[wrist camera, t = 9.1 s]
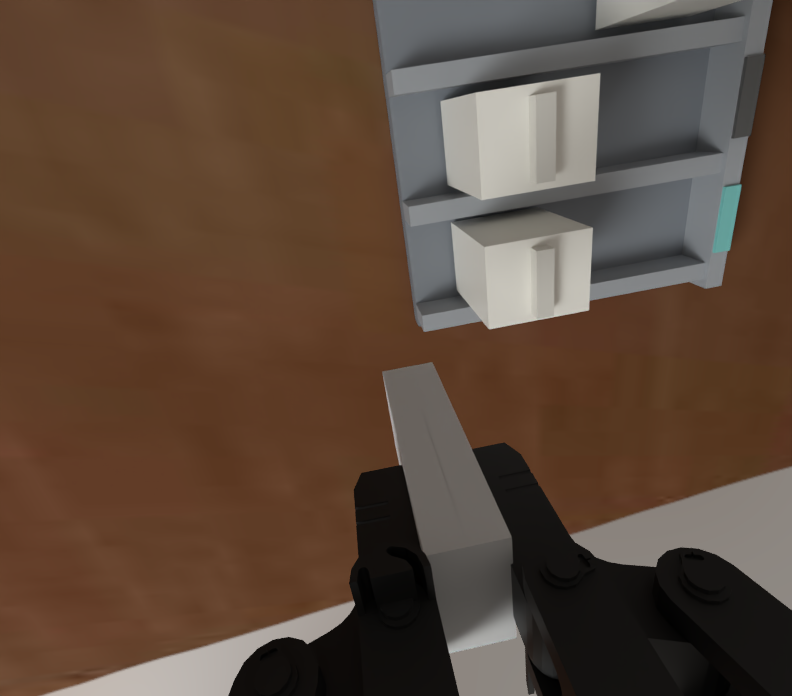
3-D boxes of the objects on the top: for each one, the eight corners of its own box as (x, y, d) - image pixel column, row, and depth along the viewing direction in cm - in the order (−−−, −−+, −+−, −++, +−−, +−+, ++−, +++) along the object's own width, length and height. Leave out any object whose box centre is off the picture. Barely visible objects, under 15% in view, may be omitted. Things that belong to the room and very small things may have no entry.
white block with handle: (450, 222, 26) (489, 251, 20) (537, 207, 26) (601, 230, 20) (456, 290, 27) (493, 335, 21) (537, 275, 28) (596, 315, 22)
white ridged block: (440, 101, 23) (481, 91, 17) (536, 85, 23) (610, 70, 17) (447, 184, 25) (486, 202, 19) (537, 169, 25) (604, 182, 19)
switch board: (360, -90, 21) (367, -132, 17) (736, -138, 22) (810, -186, 18) (415, 319, 29) (427, 343, 26) (680, 269, 31) (723, 286, 27)
